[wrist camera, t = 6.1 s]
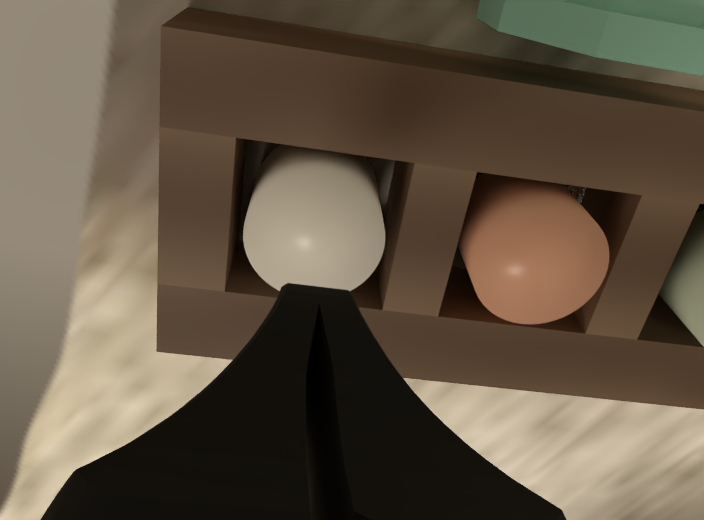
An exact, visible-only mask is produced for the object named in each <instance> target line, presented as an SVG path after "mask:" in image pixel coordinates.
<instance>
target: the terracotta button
mask: <svg viewBox="0 0 704 520" xmlns="http://www.w3.org/2000/svg"><path fill="white" fill-rule="evenodd" d="M458 247H459V250H460V252H461V255H462V257H463V260H464V263H465V265H466V268H467V270H468V273H469V276H470V278H471V281H472V284H473V286H474V289H475V291H476V294H477V296H478V298H479V299H480V301H481V302H482V304H483V305H484V306H485V307H486V308H487V309H488V310H489V311H490V312H492V313H493V314H495V315H496V316H498V317H500V318H502V319H504V320H507V321H510V322H513V323H519V324H541V323H547V322H551V321H555V320H557V319H560V318H563V317H565V316H567V315H569V314H571V313H572V312H574V311H576V310H577V309H579V308H580V307H581V306H583V305H584V304H585V303H586V302H587V301H588V300H589V299H590V298H591V297H592V296H593V295H594V294H595V293H596V291H597V290H598V288H599V287H600V285H601V284H602V282H603V280H604V278H605V275H606V272H607V269H608V264H609V246H608V242H607V239H606V236H605V234H604V232H603V231H602V229H601V228H600V226H599V225H598V224H597V223H596V221H595V220H594V219H593V218H592V217H591V216H590V214H589V213H588V212H587V211H586V210H585V209H584V207H583V206H582V205H581V204H580V203H579V202H578V200H577V199H576V198H575V197H574V196H573V194H572V193H571V192H570V191H569V190H568V189H567V187H566V186H565V185H564V184H559V183H552V182H545V181H538V180H531V179H524V178H517V177H509V176H502V175H495V174H488V173H484V174H483V175H481V176H480V177H478V178H477V179H476V180H475V181H474V185H473V189H472V193H471V196H470V200H469V204H468V207H467V211H466V215H465V218H464V222H463V226H462V230H461V233H460V237H459V241H458Z"/></svg>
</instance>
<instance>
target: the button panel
mask: <svg viewBox="0 0 704 520" xmlns="http://www.w3.org/2000/svg"><path fill="white" fill-rule="evenodd" d="M247 139H249V140H256V141H263V142H270V143H277V144H284V145H291V146H298V147H305V148H312V149H319V150H326V151H333V152H340V153H347V154H354V155H361V156H369V157H376V158H383V159H390V160H396V161H395V165H394V170H393V175H392V180H391V185H390V190H389V195H388V200H387V205H386V210H385V215H384V220H383V222H384V228H385V246H384V251H383V254H382V257H381V260H380V262H379V264H378V266H377V267H376V269H375V270H374V272H373V273H372V274H371V275H370V276H369V278H367V279H366V280H365V281H364V282H363V283H362V284H361V285H359V286H358V287H356V288H355V289H353V290H351V291H350V293H351V294H352V295H353V297H354V299H355V302H356V304H357V306H358V308H359V310H360V312H361V314H362V315H363V317H364V319H365V321H366V323H367V325H368V326H369V328H370V330H371V332H372V333H373V335H374V337H375V338H376V340H377V341H378V343H379V344H380V346H381V348H382V349H383V351H384V352H385V354H386V355H387V357H388V358H389V360H390V361H391V363H392V364H393V366H394V367H395V368H396V370H397V371H398V372H399V374H400V375H401V376H402V378H411V379H421V380H430V381H440V382H449V383H459V384H468V385H478V386H487V387H497V388H506V389H516V390H525V391H535V392H544V393H554V394H563V395H573V396H582V397H592V398H601V399H611V400H620V401H629V402H639V403H648V404H658V405H667V406H677V407H686V408H696V409H704V347H703V345H702V344H701V343H700V342H699V341H698V340H697V338H696V337H695V336H694V335H693V334H692V333H691V331H690V330H689V329H688V328H687V327H686V326H685V324H684V323H683V322H682V321H681V320H680V319H679V317H678V316H677V315H676V314H675V313H674V311H673V310H672V309H671V308H670V307H669V306H668V304H667V303H666V302H665V301H664V300H663V299H662V297H661V296H660V295H659V294H658V293H659V291H660V289H661V287H662V285H663V282H664V280H665V278H666V276H667V274H668V272H669V269H670V267H671V265H672V263H673V261H674V259H675V256H676V254H677V252H678V250H679V248H680V246H681V243H682V241H683V239H684V237H685V235H686V233H687V230H688V228H689V226H690V224H691V222H692V220H693V217H694V215H695V213H696V211H697V209H698V207H699V204H704V91H701V90H695V89H689V88H682V87H676V86H670V85H664V84H658V83H652V82H645V81H639V80H633V79H627V78H621V77H614V76H608V75H602V74H596V73H590V72H584V71H577V70H571V69H565V68H559V67H553V66H547V65H540V64H534V63H528V62H522V61H516V60H509V59H503V58H497V57H491V56H485V55H479V54H472V53H466V52H460V51H454V50H448V49H442V48H435V47H429V46H423V45H417V44H411V43H404V42H398V41H392V40H386V39H380V38H374V37H367V36H361V35H355V34H349V33H343V32H336V31H330V30H324V29H318V28H312V27H306V26H299V25H293V24H287V23H281V22H275V21H269V20H262V19H256V18H250V17H244V16H238V15H231V14H225V13H219V12H213V11H207V10H201V9H194V8H186V9H185V10H183V11H182V12H180V13H179V14H178V15H176V16H175V17H173V18H172V19H170V20H169V21H168V22H166V23H165V24H163V25H162V26H161V70H160V143H159V216H158V289H157V352H165V353H174V354H184V355H193V356H203V357H212V358H222V359H231V360H234V358H235V357H236V356H237V355H238V354H239V352H240V351H241V350H242V349H243V348H244V347H245V345H246V344H247V343H248V342H249V341H250V339H251V338H252V337H253V335H254V334H255V333H256V331H257V330H258V328H259V327H260V326H261V324H262V323H263V321H264V320H265V318H266V317H267V315H268V314H269V312H270V310H271V309H272V307H273V305H274V304H275V302H276V300H277V298H278V295H279V293H280V291H279V290H277V289H275V288H274V287H272V286H271V285H269V284H268V283H267V282H265V281H264V280H263V279H262V278H261V277H260V276H259V275H258V273H257V272H256V271H255V270H254V268H253V267H252V265H251V263H250V262H249V259H248V257H247V255H246V251H245V248H244V242H240V241H238V239H239V227H240V215H241V203H242V191H243V178H244V166H245V154H246V142H247ZM477 172H481V173H488V174H495V175H502V176H509V177H517V178H524V179H531V180H538V181H545V182H552V183H559V184H566V185H573V186H580V187H587V189H586V192H585V195H584V198H583V200H582V203H581V205H582V206H583V207H584V209H585V210H586V211H587V212H588V213H589V214H590V216H591V217H592V218H593V219H594V220H595V221H596V223H597V224H598V225H599V226H600V228H601V229H602V231H603V232H604V234H605V236H606V239H607V242H608V246H609V264H608V269H607V272H606V275H605V278H604V280H603V282H602V284H601V285H600V287H599V288H598V290H597V291H596V293H595V294H594V295H593V296H592V297H591V298H590V299H589V300H588V301H587V302H586V303H585V304H584V305H583V306H581V307H580V308H579V309H577V310H576V311H574V312H572V313H571V314H569V315H567V316H565V317H563V318H560V319H557V320H555V321H551V322H547V323H541V324H519V323H513V322H510V321H507V320H504V319H502V318H500V317H498V316H496V315H495V314H493V313H492V312H490V311H489V310H488V309H487V308H486V307H485V306H484V305H483V304H482V302H481V301H480V299H479V298H478V296H477V294H476V291H475V289H474V286H473V284H472V281H471V278H470V276H469V273H468V270H464V269H456V268H451V267H452V263H453V259H454V255H455V252H456V248H457V244H458V241H459V237H460V233H461V230H462V226H463V222H464V218H465V215H466V211H467V207H468V204H469V200H470V196H471V193H472V189H473V185H474V181H475V178H476V174H477Z"/></svg>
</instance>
